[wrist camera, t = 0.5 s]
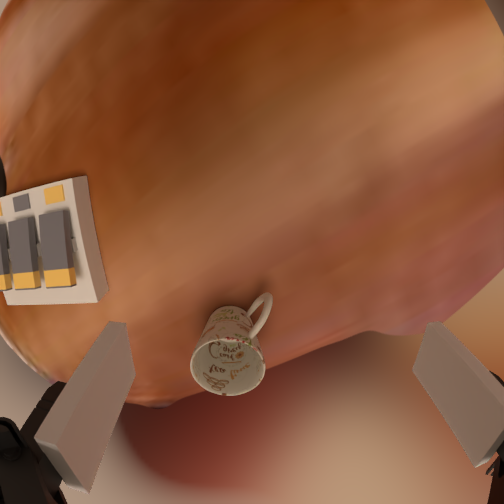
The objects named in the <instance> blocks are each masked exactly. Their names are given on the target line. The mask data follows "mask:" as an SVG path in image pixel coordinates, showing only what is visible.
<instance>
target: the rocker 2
mask: <svg viewBox="0 0 504 504" xmlns="http://www.w3.org/2000/svg"><path fill="white" fill-rule="evenodd" d="M8 233H9V245H10V255H11V264H12V271H13V280H14V286H15V290H33V289H38V288H41V280H40V273H39V267H38V259H37V250H36V240H35V227H34V218H23V219H19V220H15V221H10V222H8Z"/></svg>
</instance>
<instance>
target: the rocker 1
mask: <svg viewBox="0 0 504 504" xmlns="http://www.w3.org/2000/svg"><path fill="white" fill-rule="evenodd" d="M11 289H12V282H11V275H10V269H9V261H8V252H7V242H6V228H5V224H0V291H8V290H11Z"/></svg>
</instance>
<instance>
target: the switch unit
mask: <svg viewBox="0 0 504 504" xmlns="http://www.w3.org/2000/svg"><path fill="white" fill-rule="evenodd" d="M61 210H68V211H69V220H70V233H71V244H72V253H73V262H74V268H75V275H76V282H77V285H76V286H73V287H66V288H50V289H46V284H45V277H44V269H43V261H42V252H41V242H40V230H39V215H41V214H46V213H51V212H56V211H61ZM23 218H34V227H35V240H36V250H37V259H38V267H39V273H40V280H41V288H38V289H33V290H15V286H14V280H13V271H12V264H11V255H10V245H9V233H8V222H10V221H15V220H19V219H23ZM0 224H5V228H6V242H7V252H8V261H9V269H10V275H11V282H12V289H11V290H8V291H3V293H4V296H5V299H6V302H7V304H8V305H39V304H72V303H97V302H99V301H100V300H101V298H102V297H103V296H104V295H105V294H106V293H107V292H108V291H109V288H108V284H107V280H106V276H105V272H104V268H103V263H102V259H101V254H100V250H99V245H98V240H97V235H96V230H95V225H94V219H93V214H92V208H91V201H90V195H89V188H88V181H87V175H86V176H80V177H75V178H70V179H66V180H62V181H58V182H54V183H50V184H46V185H42V186H39V187H35V188H31V189H28V190H24V191H21V192H17V193H14V194H11V195H7V196H4V197H1V198H0Z"/></svg>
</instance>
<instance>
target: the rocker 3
mask: <svg viewBox="0 0 504 504" xmlns="http://www.w3.org/2000/svg"><path fill="white" fill-rule="evenodd" d="M39 230H40V242H41V252H42V261H43V269H44V277H45V284H46V289H50V288H66V287H73V286H76V285H77V282H76V275H75V268H74V262H73V253H72V244H71V233H70V220H69V211H68V210H61V211H56V212H51V213H46V214H41V215H39Z"/></svg>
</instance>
